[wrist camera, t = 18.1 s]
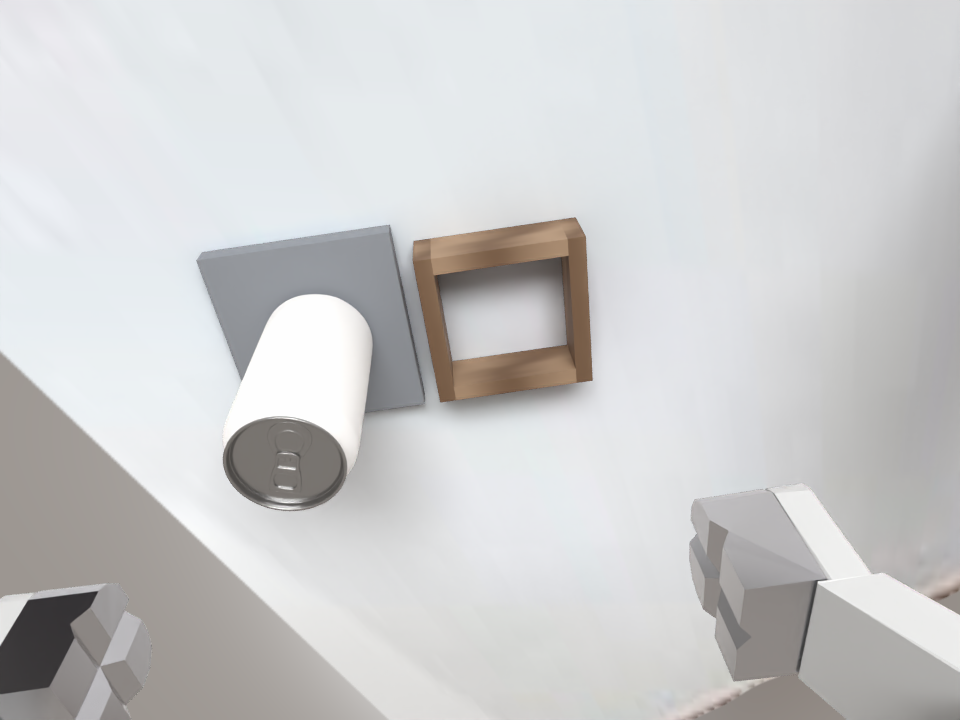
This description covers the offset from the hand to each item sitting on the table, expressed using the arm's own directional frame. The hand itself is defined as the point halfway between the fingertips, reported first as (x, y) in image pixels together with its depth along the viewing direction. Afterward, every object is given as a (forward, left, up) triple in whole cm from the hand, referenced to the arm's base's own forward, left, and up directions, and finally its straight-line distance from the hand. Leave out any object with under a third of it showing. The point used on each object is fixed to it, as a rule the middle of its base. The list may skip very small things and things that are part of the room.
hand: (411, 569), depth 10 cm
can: (+8, +12, -30) cm, 33 cm away
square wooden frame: (-3, +12, -31) cm, 33 cm away
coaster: (+8, +12, -31) cm, 34 cm away
